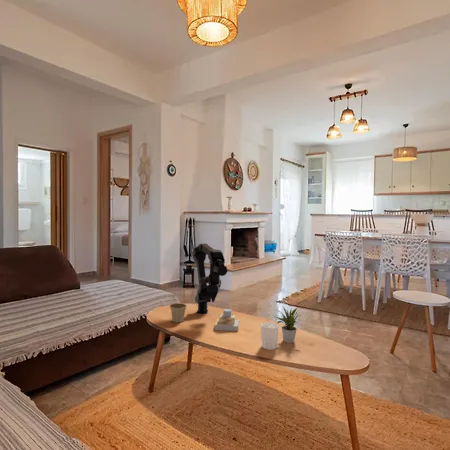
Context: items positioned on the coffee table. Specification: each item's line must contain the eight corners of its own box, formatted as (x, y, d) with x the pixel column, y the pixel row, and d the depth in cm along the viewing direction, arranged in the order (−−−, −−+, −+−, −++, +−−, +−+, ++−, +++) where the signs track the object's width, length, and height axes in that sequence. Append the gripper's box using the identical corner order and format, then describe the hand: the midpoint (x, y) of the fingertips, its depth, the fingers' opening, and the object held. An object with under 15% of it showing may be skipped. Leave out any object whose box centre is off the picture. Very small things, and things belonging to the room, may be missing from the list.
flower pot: (185, 324, 176) (185, 308, 176) (167, 323, 176) (168, 307, 176) (187, 318, 186) (187, 303, 185) (171, 318, 186) (171, 303, 185)
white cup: (273, 352, 143) (274, 329, 142) (257, 347, 147) (258, 325, 147) (280, 346, 149) (281, 324, 149) (265, 342, 154) (265, 321, 153)
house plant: (282, 332, 167) (283, 301, 167) (307, 338, 159) (309, 305, 159) (269, 340, 156) (270, 307, 155) (296, 348, 148) (297, 312, 147)
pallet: (219, 323, 171) (219, 317, 170) (220, 320, 177) (220, 313, 176) (234, 324, 170) (234, 317, 170) (234, 320, 176) (235, 314, 176)
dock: (217, 322, 179) (217, 318, 179) (238, 324, 178) (238, 319, 178) (214, 329, 168) (215, 324, 168) (238, 331, 167) (238, 326, 167)
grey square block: (223, 316, 171) (223, 311, 171) (224, 314, 175) (224, 308, 175) (230, 317, 171) (231, 311, 171) (231, 314, 175) (231, 309, 175)
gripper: (203, 268, 193) (202, 294, 194) (198, 274, 174) (197, 303, 175) (221, 269, 192) (220, 295, 193) (218, 276, 173) (217, 304, 174)
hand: (213, 299), depth 184 cm, fingers open, 9 cm apart
